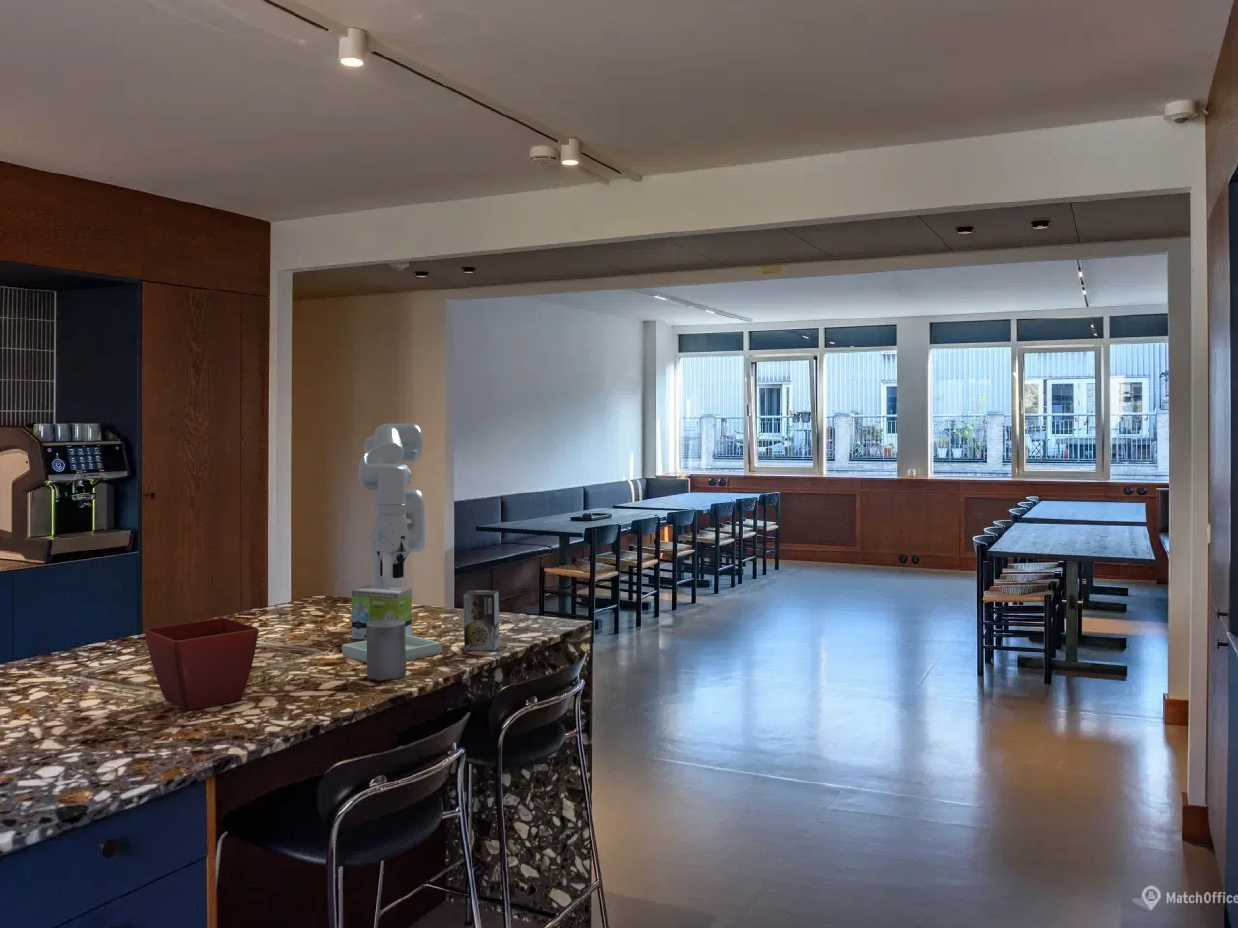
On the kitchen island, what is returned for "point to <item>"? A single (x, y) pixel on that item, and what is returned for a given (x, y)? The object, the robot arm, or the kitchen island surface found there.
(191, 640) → the plant pot
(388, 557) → the shaker
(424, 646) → the tray
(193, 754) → the kitchen island surface
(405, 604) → the tea box
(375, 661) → the pillar candle
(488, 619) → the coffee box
